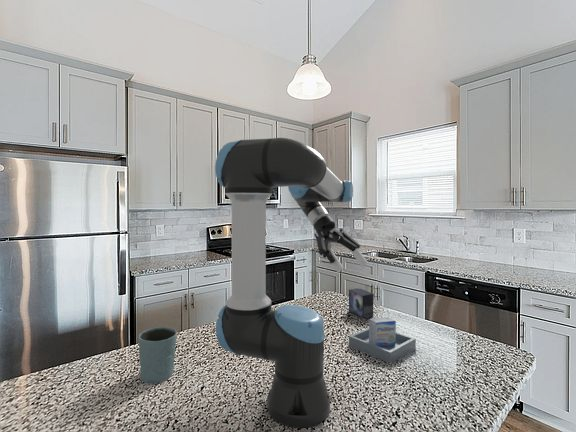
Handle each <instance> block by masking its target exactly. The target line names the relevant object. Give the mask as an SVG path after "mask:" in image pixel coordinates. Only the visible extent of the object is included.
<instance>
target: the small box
mask: <svg viewBox="0 0 576 432" xmlns="http://www.w3.org/2000/svg"><path fill="white" fill-rule="evenodd" d="M374 295H375V294H374V293H373V292H370V291H368V290H366V289H362V288H360V287H358V288H352V289H350V288H349V289H348V312H349V313H351V314H353V315H355V316H357V317H359V318H361V319H363V320H364V319H365V320H366V319H369V318H370V319H371V318H373V317H374Z"/></svg>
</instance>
